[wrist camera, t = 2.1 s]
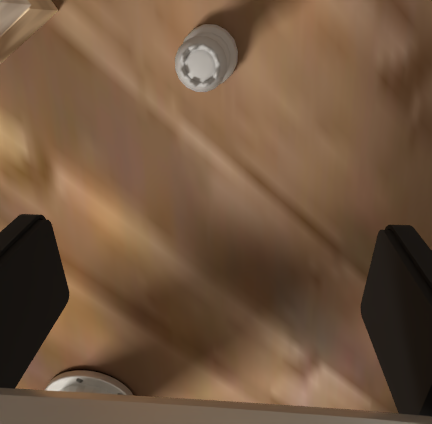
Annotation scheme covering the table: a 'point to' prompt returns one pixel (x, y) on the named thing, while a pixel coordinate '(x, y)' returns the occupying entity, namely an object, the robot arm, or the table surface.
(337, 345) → the table surface
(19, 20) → the tower base
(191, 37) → the rook chess piece
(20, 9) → the tower top
